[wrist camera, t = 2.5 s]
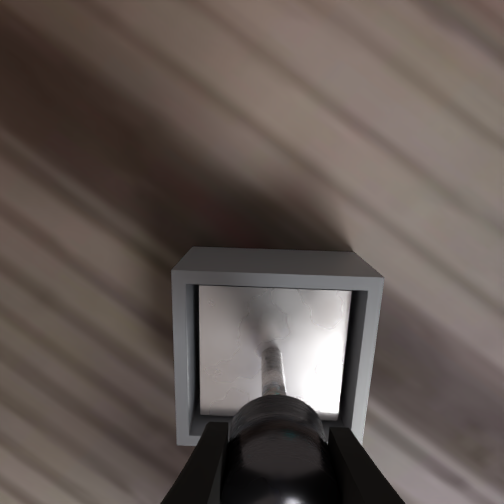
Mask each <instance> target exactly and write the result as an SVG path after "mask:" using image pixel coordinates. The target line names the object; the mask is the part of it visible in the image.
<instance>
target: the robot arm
mask: <svg viewBox="0 0 504 504" xmlns="http://www.w3.org/2000/svg"><path fill="white" fill-rule="evenodd" d="M227 449H228V422H211V421H210V422H208V423H207V424H206V426H205V429H204V431H203V433H202V435H201V437H200V439H199V441H198V443H197V445H196V447H195V449H194V451H193V453H192V454H191V456H190V458H189V460H188V461H187V463H186V465H185V466H184V468H183V470H182V471H181V473H180V475H179V476H178V478H177V480H176V481H175V483H174V484H173V486H172V487H171V489H170V490H169V492H168V493H167V495H166V496H165V498H164V499H163V501H162V502H161V504H221V498H222V490H223V481H224V473H225V465H226V457H227ZM328 449H329V453H330V457H331V461H332V465H333V469H334V473H335V477H336V481H337V485H338V490H339V494H340V499H341V504H405V502H404V501H403V500H402V499H401V498H400V496H399V495H398V494H397V492H396V491H395V490H394V489H393V487H392V486H391V485H390V483H389V482H388V481H387V480H386V478H385V477H384V476H383V474H382V473H381V472H380V470H379V469H378V468H377V466H376V465H375V464H374V462H373V461H372V459H371V458H370V457H369V455H368V454H367V452H366V451H365V450H364V448H363V447H362V445H361V444H360V442H359V441H358V440H357V438H356V437H355V435H354V434H353V432H352V431H351V430H350V429H349V428H347V427H329V436H328Z"/></svg>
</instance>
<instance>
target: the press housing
mask: <svg viewBox="0 0 504 504" xmlns="http://www.w3.org/2000/svg"><path fill="white" fill-rule="evenodd" d="M171 280H172V312H173V343H174V374H175V405H176V437H177V445H182V446H196V445H197V443H198V441H199V439H200V437H201V435H202V433H203V431H204V429H205V426H206V424H207V423H208V422H210V421H211V422H228V440H229V431H230V426H231V422H232V420H233V418H234V416H220V415H200V330H199V285H200V284H201V285H229V286H256V287H283V288H311V289H338V290H351V291H352V293H351V302H350V312H349V321H348V330H347V339H346V348H345V357H344V366H343V375H342V385H341V394H340V403H339V412H338V421H334V420H321V422H322V425H323V428H324V432H325V437H326V441H327V445H328V436H329V427H347V428H349V429H350V430H351V431H352V432H353V434H354V435H355V437H356V438H357V440H358V441H359V442H360V444H361V445H362V441H363V434H364V426H365V419H366V411H367V404H368V396H369V389H370V381H371V374H372V366H373V359H374V352H375V344H376V337H377V329H378V322H379V314H380V307H381V299H382V292H383V284H384V277H383V276H382V275H381V274H379V273H378V272H377V271H376V270H375V269H374V268H372V267H371V266H370V265H369V264H368V263H367V262H365V261H364V260H363V259H362V258H361V257H360V256H358V255H357V254H356V253H355V252H339V251H310V250H281V249H252V248H223V247H194V246H193V247H192V248H191V249H190V250H189V251H188V252H187V253H186V254H185V255H184V257H183V258H182V259H181V260H180V261H179V262H178V263H177V264H176V265H175V266H174V267H173V269H172V270H171Z"/></svg>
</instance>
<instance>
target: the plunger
mask: <svg viewBox="0 0 504 504" xmlns="http://www.w3.org/2000/svg"><path fill="white" fill-rule="evenodd" d="M351 293H352V291H351V290H338V289H311V288H283V287H256V286H229V285H201V284H200V285H199V330H200V415H220V416H234V418H233V420H232V422H231V426H230V431H229V440H228V449H227V457H226V465H225V473H224V481H223V490H222V498H221V504H341V499H340V494H339V490H338V485H337V481H336V477H335V473H334V469H333V465H332V461H331V457H330V453H329V449H328V445H327V441H326V437H325V432H324V428H323V425H322V422H321V420H334V421H338V412H339V403H340V394H341V385H342V375H343V366H344V357H345V348H346V339H347V330H348V321H349V312H350V302H351Z"/></svg>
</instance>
